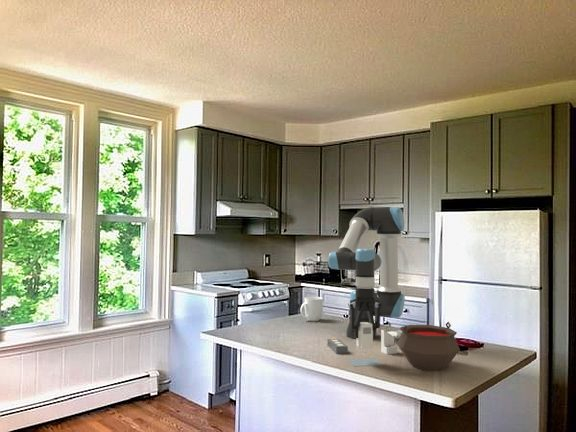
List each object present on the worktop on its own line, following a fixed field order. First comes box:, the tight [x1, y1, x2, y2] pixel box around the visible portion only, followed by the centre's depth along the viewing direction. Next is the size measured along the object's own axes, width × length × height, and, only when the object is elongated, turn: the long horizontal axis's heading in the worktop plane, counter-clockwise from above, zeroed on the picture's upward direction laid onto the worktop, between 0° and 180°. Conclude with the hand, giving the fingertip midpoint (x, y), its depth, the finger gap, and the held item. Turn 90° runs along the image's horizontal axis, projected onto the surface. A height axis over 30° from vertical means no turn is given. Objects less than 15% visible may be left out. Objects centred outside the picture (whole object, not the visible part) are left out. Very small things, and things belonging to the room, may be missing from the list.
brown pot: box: [396, 321, 461, 371], centre depth 179 cm, size 24×24×16 cm
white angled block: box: [380, 329, 398, 355], centre depth 196 cm, size 4×10×9 cm, turn 118°
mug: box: [299, 296, 324, 322], centre depth 267 cm, size 15×11×13 cm
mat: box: [346, 358, 384, 367], centre depth 180 cm, size 12×9×1 cm
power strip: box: [326, 337, 349, 355], centre depth 203 cm, size 5×20×4 cm, turn 11°
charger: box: [359, 322, 374, 349], centre depth 181 cm, size 4×7×9 cm, turn 11°
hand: (364, 346), depth 180 cm, fingers closed on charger, 4 cm apart
